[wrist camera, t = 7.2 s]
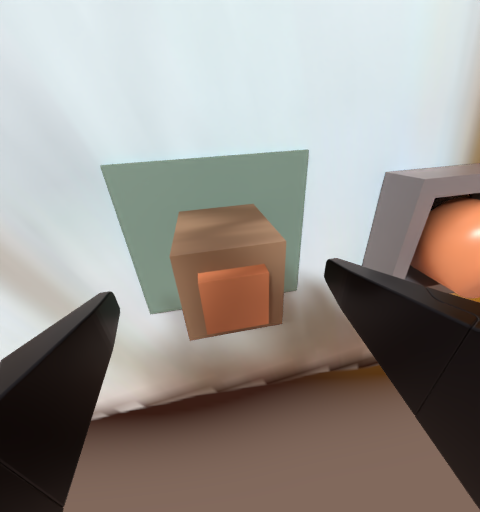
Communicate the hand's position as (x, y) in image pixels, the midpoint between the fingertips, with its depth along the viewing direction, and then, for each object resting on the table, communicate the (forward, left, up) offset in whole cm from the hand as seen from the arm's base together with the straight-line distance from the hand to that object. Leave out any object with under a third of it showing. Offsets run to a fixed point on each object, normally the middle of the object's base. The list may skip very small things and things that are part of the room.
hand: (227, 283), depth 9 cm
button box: (-14, +1, -4) cm, 15 cm away
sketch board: (0, 0, -4) cm, 4 cm away
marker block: (0, 0, -4) cm, 4 cm away
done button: (-14, +1, -3) cm, 14 cm away
